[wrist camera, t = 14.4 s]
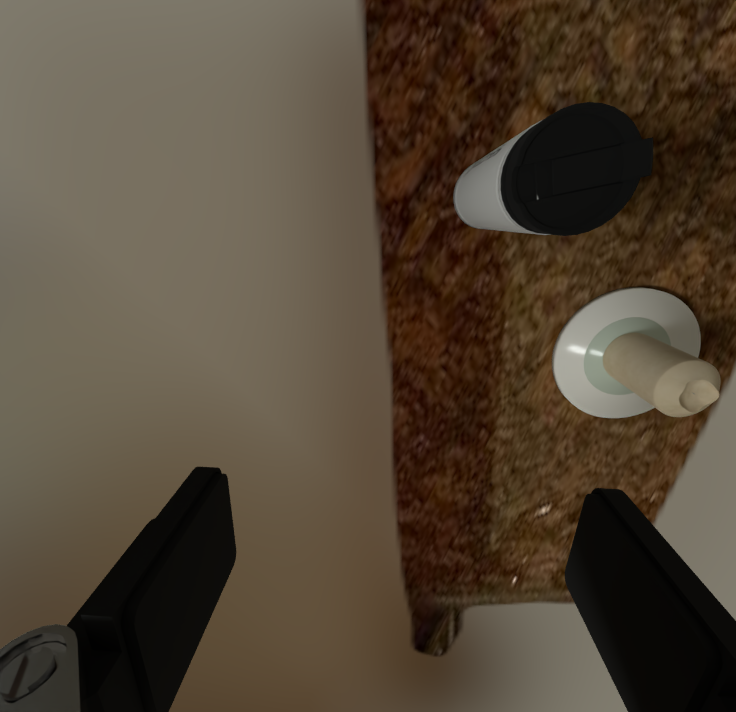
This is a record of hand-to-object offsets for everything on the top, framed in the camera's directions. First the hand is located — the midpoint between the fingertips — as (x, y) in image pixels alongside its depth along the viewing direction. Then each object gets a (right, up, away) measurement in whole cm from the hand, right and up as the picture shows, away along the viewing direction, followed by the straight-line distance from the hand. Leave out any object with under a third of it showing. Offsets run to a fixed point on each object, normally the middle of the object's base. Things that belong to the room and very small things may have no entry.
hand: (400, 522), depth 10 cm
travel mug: (+11, +20, +28) cm, 36 cm away
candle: (+28, +4, +31) cm, 42 cm away
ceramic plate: (+27, +5, +32) cm, 43 cm away
